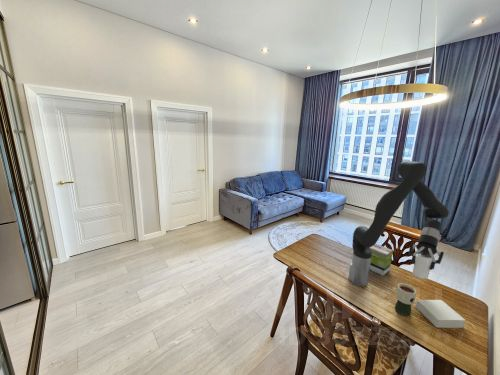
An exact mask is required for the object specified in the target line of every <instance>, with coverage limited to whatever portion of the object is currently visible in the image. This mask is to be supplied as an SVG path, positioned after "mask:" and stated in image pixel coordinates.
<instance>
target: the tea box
mask: <svg viewBox="0 0 500 375" xmlns="http://www.w3.org/2000/svg"><path fill="white" fill-rule="evenodd" d="M369 248H370V250H371V252H372V256H371V263H370V270H369V271H372V272H374V273H377V274H379V275H381V276H382V277H383V276H385V275H386V274H387V273H388V272H389V271H390V269H391V264H392V258H393V253H394V250H393V249H390V248H388V247H385V246H383V245H380V244H377V243H376V244H375V245H373V246H372V247H369Z"/></svg>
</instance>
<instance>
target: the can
mask: <svg viewBox="0 0 500 375" xmlns="http://www.w3.org/2000/svg"><path fill="white" fill-rule="evenodd" d="M431 262H432V258H431V255H429V254H428V255H427V254H424V253H423V252H418V253H417V255H416V257H415V263H414V264H413V268H412V274H413V276H414V277H416V278H418V279H421V280H427V279H429V275H430V271H431V270H430V267H431Z"/></svg>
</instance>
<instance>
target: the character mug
mask: <svg viewBox="0 0 500 375" xmlns="http://www.w3.org/2000/svg"><path fill="white" fill-rule="evenodd" d="M416 295H417V290H416V289H415V287H413V286H411V285H409V284H406V283H398V284H397V287H396V294H395V298H396V299H397V301H396V303H395V306H394V309H395V311H396V312H398V313H399V314H400V315H402V316H405V317H409V316H411V314H412V305H414V304H415V301H416Z"/></svg>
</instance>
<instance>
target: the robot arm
mask: <svg viewBox="0 0 500 375" xmlns="http://www.w3.org/2000/svg"><path fill="white" fill-rule="evenodd" d="M427 169H428V168H427V165H426V163H424V162H419V161H413V160H403V161H402V162H400V163H399V164H398V166H397V170H396V171H397V173H398V175H399V176H400V177H401V178H402V181H401V182H400V183H399V184H398V185H396V186H395V187H393V188H392V189H389V190H388V191H387V192H385V193H384V194H383V196H381V198H380V199H379V201H378V202H377V204H376V206H375V210H374V218H373V220H372V223H371V225H370V226H369V227H367V226H364V225H359V226H357V227H356V228H355V229H354V231H353V233H352V244H351V245H352V250H353V252H352V258H351V259H352V261H351V263H350V264H349V270H348V280H349V281H350V282H351V283H352V285H354V286H359V287H366V286H368V282H369V276H370V271H371V270H370V263H371V256H372V252H371V250H370V248H369V247H372V246H373V245H375V244H377V242H378V241H379V239H380V238H381V235H382V233H383V232H384V230H385V229H386V227H387V225H388V224H389V223H390V221H391V219H392V218H393V216H394V215H395V214H396V213H397V211H398V210H399V209H400V207H401V206H402V203H403V202H405V199H406V198H408V196H409V194H410V193H411V192H412V191H413V192H414V194H415V195H416V197H417V199H418V200H419V202H420V203H421V205H422V206H423V207H424V208H423V217H424V219H423V220H424V222H423V225H422V226H423V227H422V229H421V232H420V234H419V235H420V236H419V239H418V243H417V244H415V243H412V242H411V243H409V250H408V255H409V256H411V257H412V258H411V262H410V263H412V265H414V263H415V257H416V255H417V253H418V252H423V253H424V254H427V255H428V254H429V255H431V258H432V262H431V267H430V271H432V270H435V266H436V264H438V265H441V262H442V260H443V258H444V254H445V253H444V251H439V250H438V249H437V248H438V243H439V240H440V233H441V232H440V231H441V226H442V224H441V222H440V221H439V220H437V219H440V220H443V219H446V218H448V217H449V213H450V212H449V209H448V208H447V207H446V205H445V204H443V203H442V202H441V201H440V200H439V199H437V197H436V195H435V193H434V191H433V190H432V189H431V188H430V187H429V186H427V185H426V184H425V183H424V182H423V181H422V180H423V178H424V176H426V173H427ZM415 248H416V251H415V252H413V251H414V249H415ZM434 255H437V256H438V258H437V259H436V258H435V256H434Z"/></svg>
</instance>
